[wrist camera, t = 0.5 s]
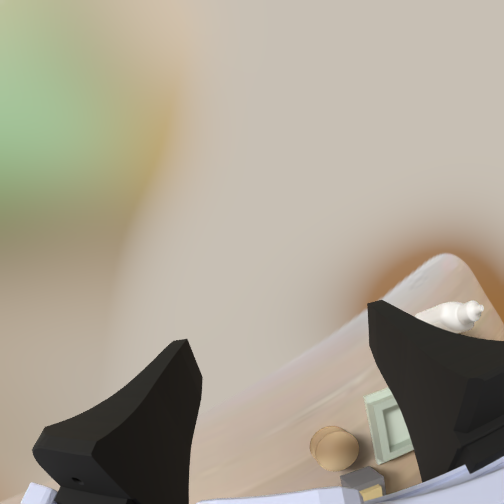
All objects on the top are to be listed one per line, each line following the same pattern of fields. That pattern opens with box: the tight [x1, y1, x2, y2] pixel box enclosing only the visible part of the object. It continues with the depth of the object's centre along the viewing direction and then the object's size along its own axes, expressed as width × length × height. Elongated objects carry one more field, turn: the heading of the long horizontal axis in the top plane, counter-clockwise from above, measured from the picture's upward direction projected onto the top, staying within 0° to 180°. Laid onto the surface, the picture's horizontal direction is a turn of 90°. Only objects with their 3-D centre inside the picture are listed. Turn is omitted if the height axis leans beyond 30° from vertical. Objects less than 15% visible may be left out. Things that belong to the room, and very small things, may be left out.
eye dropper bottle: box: [415, 300, 484, 333], centre depth 33 cm, size 4×6×12 cm
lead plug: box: [340, 466, 386, 501], centre depth 28 cm, size 4×4×6 cm
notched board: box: [363, 387, 414, 465], centre depth 33 cm, size 10×8×3 cm
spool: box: [310, 426, 359, 471], centre depth 31 cm, size 5×5×4 cm
